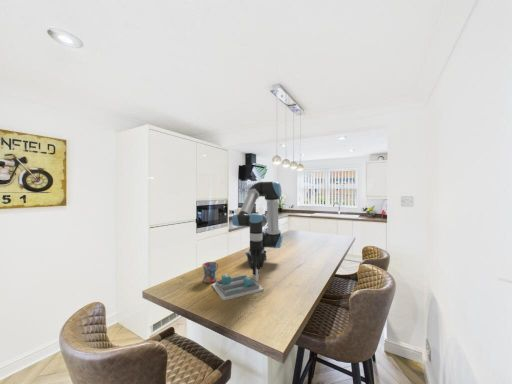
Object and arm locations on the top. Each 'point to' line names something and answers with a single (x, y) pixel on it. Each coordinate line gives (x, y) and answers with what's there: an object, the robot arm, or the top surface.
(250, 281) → the tab
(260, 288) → the switch board
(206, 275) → the mug
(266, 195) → the robot arm
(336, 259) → the top surface
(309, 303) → the top surface
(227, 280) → the tab
